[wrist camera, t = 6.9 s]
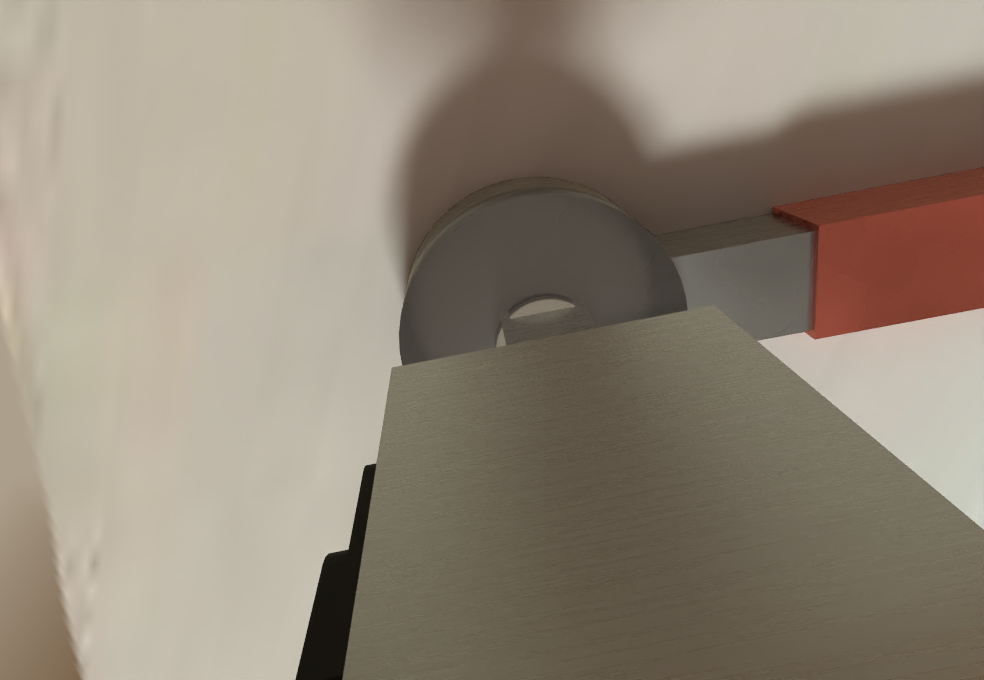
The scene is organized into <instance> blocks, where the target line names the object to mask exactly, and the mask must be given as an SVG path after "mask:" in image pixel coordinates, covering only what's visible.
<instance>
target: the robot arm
mask: <svg viewBox="0 0 984 680" xmlns="http://www.w3.org/2000/svg"><path fill="white" fill-rule="evenodd" d="M376 465H377V463H376V464H371V465H366V466H365V468H364V471H363V476H362V481H361V487H360V492H359V497H358V503H357V508H356V513H355V519H354V524H353V529H352V534H351V540H350V545H349V550H345V551H340V552H334V553H329V554H328V555H327V556H326V557H325V560H324V563H323V566H322V570H321V574H320V578H319V583H318V587H317V591H316V595H315V600H314V604H313V608H312V612H311V617H310V621H309V625H308V629H307V633H306V638H305V642H304V646H303V650H302V655H301V659H300V663H299V667H298V672H297V676H296V680H342V679H343V672H344V666H345V660H346V654H347V647H348V641H349V635H350V628H351V622H352V616H353V609H354V603H355V597H356V591H357V584H358V578H359V572H360V565H361V559H362V553H363V547H364V540H365V534H366V528H367V521H368V515H369V509H370V502H371V496H372V490H373V484H374V477H375V471H376Z"/></svg>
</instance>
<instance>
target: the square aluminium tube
mask: <svg viewBox="0 0 984 680" xmlns="http://www.w3.org/2000/svg"><path fill="white" fill-rule="evenodd" d="M342 680H984V530H983V529H982V528H981V527H980V526H978V525H977V524H976V523H975V522H974V521H972V520H971V519H970V518H969V517H968V516H966V515H965V514H964V513H963V512H962V511H960V510H959V509H958V508H957V507H956V506H954V505H953V504H952V503H951V502H950V501H948V500H947V499H946V498H945V497H944V496H942V495H941V494H940V493H939V492H938V491H936V490H935V489H934V488H933V487H932V486H930V485H929V484H928V483H927V482H926V481H924V480H923V479H922V478H921V477H920V476H918V475H917V474H916V473H915V472H914V471H912V470H911V469H910V468H909V467H908V466H906V465H905V464H904V463H903V462H902V461H900V460H899V459H898V458H897V457H896V456H894V455H893V454H892V453H891V452H890V451H888V450H887V449H886V448H885V447H884V446H882V445H881V444H880V443H879V442H878V441H876V440H875V439H874V438H873V437H872V436H870V435H869V434H868V433H867V432H866V431H864V430H863V429H862V428H861V427H860V426H858V425H857V424H856V423H855V422H854V421H852V420H851V419H850V418H849V417H848V416H846V415H845V414H844V413H843V412H842V411H840V410H839V409H838V408H837V407H836V406H834V405H833V404H832V403H831V402H830V401H828V400H827V399H826V398H825V397H823V396H822V395H821V394H820V393H819V392H817V391H816V390H815V389H814V388H813V387H811V386H810V385H809V384H808V383H807V382H805V381H804V380H803V379H802V378H801V377H799V376H798V375H797V374H796V373H795V372H793V371H792V370H791V369H790V368H789V367H787V366H786V365H785V364H784V363H783V362H781V361H780V360H779V359H778V358H777V357H775V356H774V355H773V354H772V353H771V352H769V351H768V350H767V349H766V348H765V347H763V346H762V345H761V344H760V343H759V342H757V341H756V340H755V339H754V338H753V337H751V336H750V335H749V334H748V333H747V332H745V331H744V330H743V329H742V328H741V327H739V326H738V325H737V324H736V323H735V322H733V321H732V320H731V319H730V318H729V317H727V316H726V315H725V314H724V313H723V312H721V311H720V310H719V309H718V308H717V307H715V306H714V305H712V306H707V307H702V308H697V309H692V310H687V311H681V312H676V313H671V314H666V315H661V316H656V317H651V318H645V319H640V320H635V321H630V322H625V323H620V324H614V325H609V326H604V327H599V328H594V329H589V330H584V331H578V332H573V333H568V334H563V335H558V336H553V337H547V338H542V339H537V340H532V341H527V342H522V343H516V344H511V345H506V346H501V347H496V348H491V349H486V350H480V351H475V352H470V353H465V354H460V355H455V356H449V357H444V358H439V359H434V360H429V361H424V362H419V363H413V364H408V365H403V366H398V367H393V368H392V370H391V376H390V383H389V389H388V395H387V402H386V408H385V414H384V421H383V427H382V433H381V439H380V446H379V452H378V458H377V465H376V471H375V477H374V484H373V490H372V496H371V502H370V509H369V515H368V521H367V528H366V534H365V540H364V547H363V553H362V559H361V565H360V572H359V578H358V584H357V591H356V597H355V603H354V609H353V616H352V622H351V628H350V635H349V641H348V647H347V654H346V660H345V666H344V672H343V679H342Z"/></svg>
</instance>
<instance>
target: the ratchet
mask: <svg viewBox="0 0 984 680" xmlns="http://www.w3.org/2000/svg"><path fill="white" fill-rule="evenodd" d="M712 305H714V306H715V307H717V308H718V309H719V310H720V311H721V312H723V313H724V314H725V315H726V316H727V317H729V318H730V319H731V320H732V321H733V322H735V323H736V324H737V325H738V326H739V327H741V328H742V329H743V330H744V331H745V332H747V333H748V334H749V335H750V336H751V337H753V338H754V339H755V340H756V341H758V340H763V339H768V338H774V337H779V336H785V335H790V334H795V333H801V332H805V333H807V334H808V335H810V336H811V337H812V338H814V339H819V338H825V337H830V336H835V335H841V334H846V333H851V332H857V331H862V330H867V329H873V328H878V327H884V326H889V325H894V324H900V323H905V322H910V321H916V320H921V319H926V318H932V317H937V316H943V315H948V314H953V313H959V312H964V311H969V310H975V309H980V308H984V167H982V168H976V169H971V170H966V171H960V172H955V173H950V174H945V175H939V176H934V177H929V178H923V179H918V180H913V181H908V182H902V183H897V184H892V185H886V186H881V187H876V188H871V189H865V190H860V191H855V192H849V193H844V194H839V195H834V196H828V197H823V198H818V199H812V200H807V201H802V202H797V203H791V204H786V205H781V206H775V207H773V213H772V214H767V215H762V216H756V217H751V218H746V219H740V220H735V221H730V222H725V223H719V224H714V225H709V226H703V227H698V228H693V229H687V230H682V231H677V232H672V233H666V234H661V235H656V236H653V235H652V234H651V233H650V232H649V231H648V230H647V229H645V228H644V227H643V226H642V225H641V224H640V223H638V222H637V221H636V220H635V219H633V218H632V217H631V216H629V215H628V214H627V213H625V212H624V211H623V210H622V209H620V208H619V207H618V206H616V205H615V204H614V203H613V202H611V201H610V200H608V199H607V198H605V197H604V196H602V195H600V194H599V193H597V192H595V191H593V190H591V189H589V188H587V187H584V186H582V185H580V184H576V183H573V182H569V181H566V180H561V179H554V178H548V177H527V178H519V179H511V180H508V181H504V182H500V183H496V184H493V185H491V186H488V187H486V188H483V189H481V190H478V191H477V192H475V193H473V194H471V195H470V196H468V197H466V198H464V199H463V200H461V201H460V202H459V203H457V204H456V205H455V206H453V207H452V208H451V209H450V210H448V211H447V212H446V213H445V214H444V215H443V216H442V217H441V218H440V219H439V220H438V221H437V222H436V224H435V225H434V226H433V228H432V229H431V230H430V232H429V233H428V234H427V235H426V237H425V239H424V241H423V242H422V244H421V246H420V248H419V249H418V252H417V254H416V256H415V259H414V261H413V264H412V267H411V271H410V275H409V279H408V283H407V288H406V293H405V298H404V303H403V308H402V313H401V320H400V330H399V343H400V355H401V360H402V365H408V364H413V363H419V362H424V361H429V360H434V359H439V358H444V357H449V356H455V355H460V354H465V353H470V352H475V351H480V350H486V349H491V348H496V347H501V346H506V345H511V344H516V343H522V342H527V341H532V340H537V339H542V338H547V337H553V336H558V335H563V334H568V333H573V332H578V331H584V330H589V329H594V328H599V327H604V326H609V325H614V324H620V323H625V322H630V321H635V320H640V319H645V318H651V317H656V316H661V315H666V314H671V313H676V312H681V311H687V310H692V309H697V308H702V307H707V306H712Z"/></svg>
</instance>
